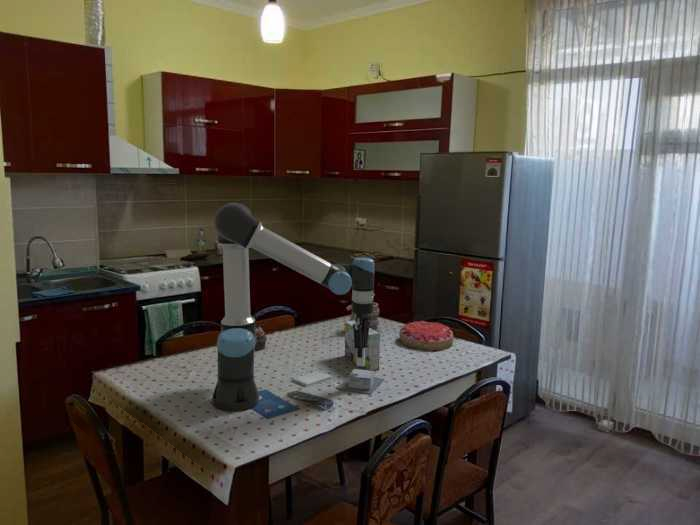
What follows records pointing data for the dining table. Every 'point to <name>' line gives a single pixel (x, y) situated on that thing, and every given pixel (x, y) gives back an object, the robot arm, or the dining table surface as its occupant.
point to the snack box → (370, 352)
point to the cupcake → (260, 339)
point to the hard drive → (312, 378)
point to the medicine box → (361, 379)
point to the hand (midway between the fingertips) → (360, 365)
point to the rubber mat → (345, 387)
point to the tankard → (373, 315)
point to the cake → (426, 335)
